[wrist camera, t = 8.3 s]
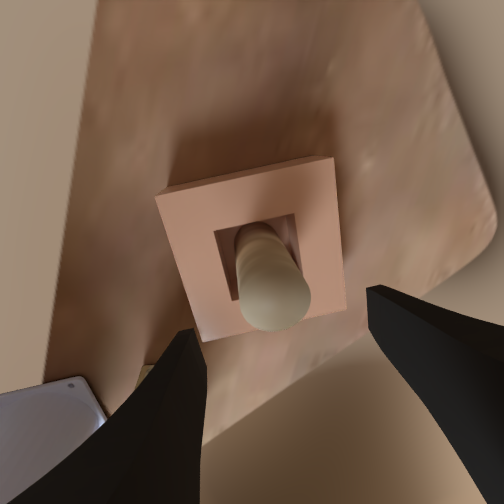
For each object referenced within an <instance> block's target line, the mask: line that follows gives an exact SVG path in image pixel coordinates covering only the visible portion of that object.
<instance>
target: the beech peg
mask: <svg viewBox="0 0 504 504" xmlns="http://www.w3.org/2000/svg"><path fill="white" fill-rule="evenodd" d="M234 251H235V261H236V272H237V282H238V292H239V303H240V309H241V312H242V315H243V317H244V318H245V319H246V321H247V322H248V323H249V324H251V325H252V326H254V327H255V328H257V329H260V330H263V331H270V332H275V331H282V330H285V329H288V328H290V327H292V326H294V325H295V324H297V323H298V322H299V321H300V320H301V319H302V318H303V317H304V316H305V315H306V313H307V311H308V309H309V307H310V303H311V292H310V288H309V286H308V284H307V282H306V280H305V279H304V277H303V276H302V274H301V272H300V271H299V269H298V267H297V266H296V264H295V262H294V261H293V259H292V257H291V256H290V254H289V252H288V251H287V249H286V248H285V246H284V244H283V243H282V241H281V239H280V238H279V236H278V234H277V233H276V231H275V230H274V228H272V227H271V226H270V225H269V224H267V223H264V222H259V221H256V222H252V223H248V224H246V225H244V226H243V227H241V228H240V229H239V231H238V232H237V234H236V236H235V239H234Z"/></svg>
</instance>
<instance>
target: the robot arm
mask: <svg viewBox="0 0 504 504" xmlns="http://www.w3.org/2000/svg"><path fill="white" fill-rule="evenodd" d="M366 294H367V311H368V328H369V330H370V332H371V334H372V335H373V337H374V339H375V341H376V342H377V344H378V345H379V347H380V348H381V350H382V351H383V352H384V354H385V355H386V357H387V358H388V359H389V360H390V362H391V363H392V364H393V365H394V367H395V368H396V369H397V370H398V372H399V373H400V374H401V375H402V377H403V378H404V379H405V380H406V382H407V383H408V384H409V385H410V387H411V388H412V389H413V390H414V392H415V393H416V394H417V395H418V396H419V398H420V399H421V400H422V402H423V403H424V404H425V406H426V407H427V409H428V410H429V412H430V413H431V414H432V416H433V418H434V419H435V421H436V422H437V423H438V425H439V427H440V428H441V430H442V431H443V433H444V434H445V436H446V437H447V439H448V440H449V442H450V444H451V445H452V447H453V448H454V450H455V451H456V453H457V455H458V456H459V458H460V459H461V461H462V463H463V464H464V466H465V468H466V469H467V471H468V473H469V474H470V476H471V478H472V479H473V481H474V482H475V484H476V486H477V488H478V489H479V491H480V493H481V494H482V496H483V498H484V499H485V501H486V502H487V504H504V326H501V325H497V324H494V323H490V322H486V321H483V320H479V319H475V318H472V317H469V316H465V315H462V314H459V313H456V312H453V311H450V310H447V309H444V308H442V307H439V306H436V305H433V304H431V303H428V302H425V301H423V300H420V299H418V298H415V297H412V296H410V295H407V294H405V293H402V292H400V291H397V290H395V289H392V288H389V287H387V286H384V285H376V286H372V287H368V288H366ZM71 383H72V384H71ZM206 398H207V366H206V363H205V360H204V358H203V355H202V352H201V349H200V346H199V343H198V340H197V337H196V334H195V331H194V328H191V329H187V330H183V331H179V332H178V333H177V334H176V336H175V337H174V339H173V340H172V341H171V343H170V344H169V346H168V347H167V349H166V350H165V351H164V353H163V354H162V356H161V357H160V358H159V360H158V361H157V363H156V364H155V365H154V367H153V368H152V369H151V371H150V372H149V373H148V374H147V376H146V377H145V378H144V379H143V381H142V382H141V383H140V384H139V386H138V387H137V388H136V389H135V391H134V392H133V393H132V394H131V395H130V396H129V397H128V399H127V400H126V401H125V402H124V403H123V404H122V405H121V406H120V407H119V408H118V409H117V410H116V411H115V413H114V414H113V415H112V416H111V417H110V418H109V419H108V420H107V418H106V416H105V414H104V412H103V411H102V409H101V407H100V405H99V404H98V402H97V400H96V398H95V396H94V395H93V393H92V391H91V389H90V387H89V386H88V384H87V382H86V380H85V379H84V378H83V377H80V376H77V377H72V378H68V379H63V380H59V381H55V382H50V383H46V384H42V385H37V386H33V387H29V388H24V389H20V390H16V391H12V392H7V393H3V394H0V504H200V458H201V446H202V436H203V427H204V418H205V408H206Z"/></svg>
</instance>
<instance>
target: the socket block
mask: <svg viewBox="0 0 504 504" xmlns="http://www.w3.org/2000/svg"><path fill="white" fill-rule="evenodd" d="M154 197H155V200H156V203H157V206H158V209H159V212H160V215H161V218H162V221H163V224H164V227H165V230H166V233H167V236H168V239H169V242H170V245H171V248H172V251H173V254H174V257H175V260H176V263H177V266H178V269H179V273H180V276H181V279H182V282H183V285H184V288H185V291H186V294H187V297H188V300H189V303H190V306H191V309H192V312H193V315H194V318H195V321H196V324H197V327H198V330H199V333H200V336H201V339H202V342H207V341H212V340H216V339H220V338H225V337H229V336H233V335H238V334H242V333H247V332H251V331H255V330H260V329H257V328H255V327H254V326H252V325H251V324H249V323H248V322H247V321H246V319H245V318H244V317H243V315H242V312H241V309H240V303H239V292H238V282H237V272H236V261H235V251H234V239H235V236H236V234H237V232H238V231H239V229H240V228H241V227H243V226H244V225H246V224H248V223H252V222H256V221H259V222H264V223H267V224H269V225H270V226H271V227H272V228H274V230H275V231H276V233H277V234H278V236H279V238H280V239H281V241H282V243H283V244H284V246H285V248H286V249H287V251H288V252H289V254H290V256H291V257H292V259H293V261H294V262H295V264H296V266H297V267H298V269H299V271H300V272H301V274H302V276H303V277H304V279H305V280H306V282H307V284H308V286H309V288H310V292H311V303H310V307H309V309H308V311H307V313H306V315H305V316H304V317H303V318H302V319H301V320H303V319H308V318H312V317H316V316H321V315H325V314H329V313H334V312H338V311H343V310H347V306H346V295H345V283H344V271H343V260H342V248H341V236H340V225H339V213H338V201H337V190H336V178H335V167H334V157H326V156H317V155H312V156H308V157H303V158H299V159H294V160H289V161H285V162H280V163H276V164H271V165H266V166H262V167H257V168H253V169H248V170H243V171H239V172H234V173H230V174H225V175H220V176H216V177H211V178H207V179H202V180H197V181H193V182H188V183H184V184H179V185H174V186H170V187H166V188H165V189H164V190H162V191H161V192H160V193H158V194H157V195H156V196H154Z"/></svg>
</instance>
